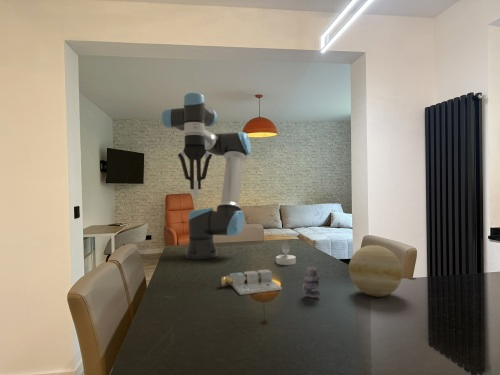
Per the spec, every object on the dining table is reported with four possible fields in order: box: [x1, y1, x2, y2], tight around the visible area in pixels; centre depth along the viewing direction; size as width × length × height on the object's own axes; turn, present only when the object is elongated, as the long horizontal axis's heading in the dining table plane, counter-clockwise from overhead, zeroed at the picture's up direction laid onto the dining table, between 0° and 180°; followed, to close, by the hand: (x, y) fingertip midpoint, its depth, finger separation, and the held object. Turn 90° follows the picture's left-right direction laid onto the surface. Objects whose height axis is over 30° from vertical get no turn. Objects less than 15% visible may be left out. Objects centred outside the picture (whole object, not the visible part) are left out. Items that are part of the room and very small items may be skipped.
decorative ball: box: [348, 244, 403, 297], centre depth 97 cm, size 15×15×15 cm
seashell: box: [302, 264, 321, 298], centre depth 95 cm, size 5×5×10 cm
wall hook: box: [275, 242, 297, 266], centre depth 140 cm, size 9×10×10 cm
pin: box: [220, 274, 261, 286], centre depth 110 cm, size 3×16×3 cm, turn 109°
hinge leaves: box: [223, 269, 282, 296], centre depth 110 cm, size 20×14×4 cm
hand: (195, 198), depth 120 cm, fingers closed
